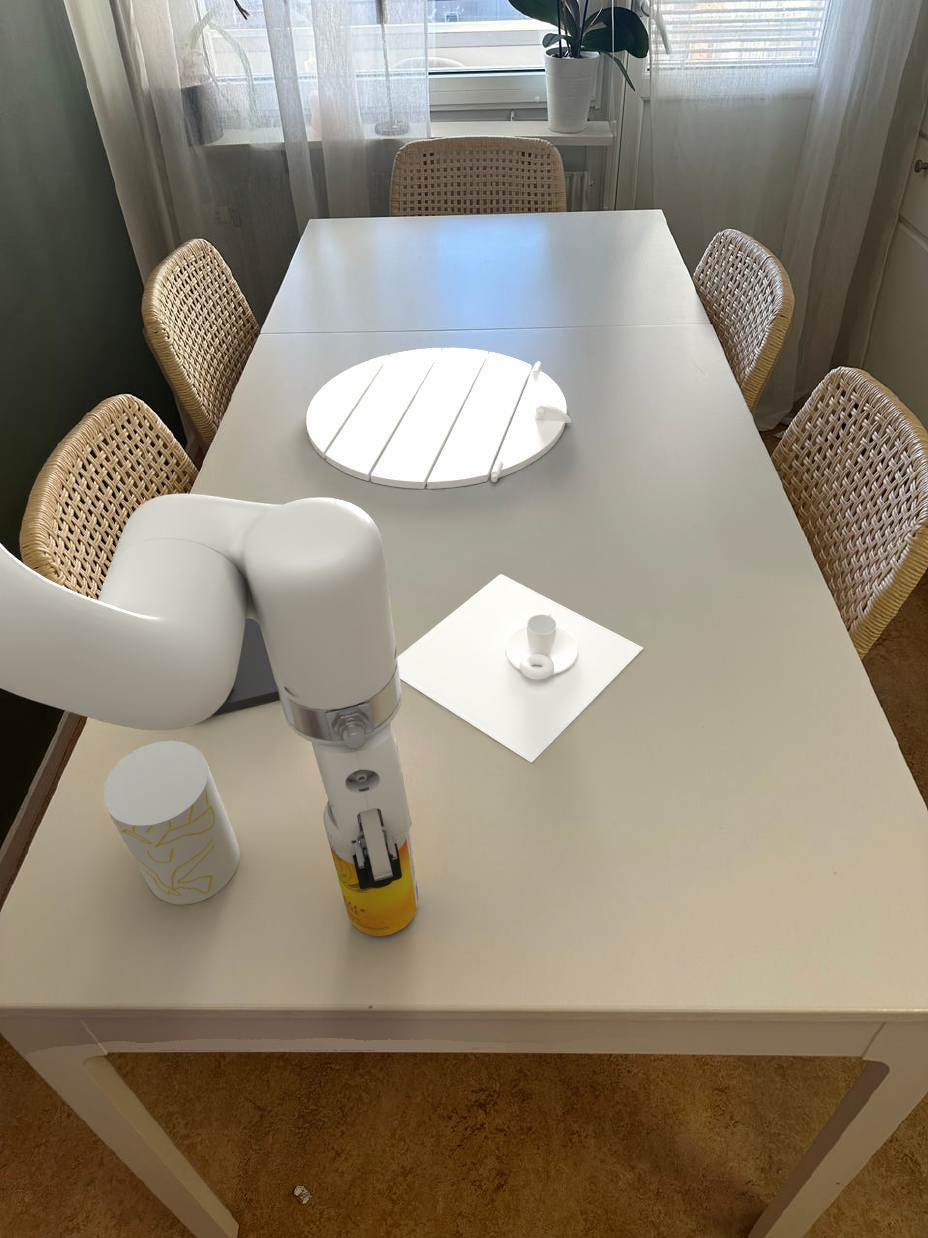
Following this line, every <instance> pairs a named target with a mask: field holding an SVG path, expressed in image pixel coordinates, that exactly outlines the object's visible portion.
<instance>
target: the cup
mask: <svg viewBox="0 0 928 1238" xmlns="http://www.w3.org/2000/svg"><path fill="white" fill-rule="evenodd" d="M102 801H103V805H104V807H105V809H106V811H107V812H108V815H109V816H110V818H111V820H112V821H113V824H114V825H115V828H116V829H117V831H118V833H119V835H120V836H121V838H122V840H123V842H124V844H125V846H126V848H127V849H128V851H129V853H130V855H131V856H132V859H133V860H134V863H136V865H137V867H138V869H139V871H140V873H141V875H142V876H143V879H144V880H145V882H146V883H147V885H148V887H149V889H150V891H151V892H152V893H153V895H155V896H156V897H157V898H158V899H159V900H161V901H163V902H165V903H168V904H172V905H180V906H181V905H183V906H184V905H185V906H186V905H193V904H197V903H200V902H203V901H206V900H208V899H209V898H211V897H213V896H215V895H216V894H218V893H219V892H220V891H221V890H223V889H224V888H225V887H226V886H227V885H228V883H230V882H231V880H232V878H233V877H234V875H235V874H236V871H237V869H238V866H239V863H240V858H241V857H240V856H241V851H240V845H239V842H238V840H237V837H236V834H235V832H234V829H233V827H232V824H231V822H230V818H229V816H228V813H227V811H226V809H225V805H224V803H223V800H222V798H221V796H220V793H219V791H218V788H217V785H216V783H215V780H214V777H213V775H212V773H211V770H210V768H209V765H208V761H207V759H206V757H205V756H204V754H203V753H202V751H200V750H199V749H198V748H197V747H195V746H194V745H191V744H189V743H187V742H183V741H178V740H161V741H156V742H151V743H149V744H146V745H142V746H141V747H138V748H137V749H135V750H133V751H131V752H129V753H128V754H126V756H124V757H122V758H121V759H120V760H119V761H118V762H117V763H116V765H114V767H113V768H112V769H111V770H110V772H109V774H108V775H107V777H106V780H105V782H104V785H103V789H102Z"/></svg>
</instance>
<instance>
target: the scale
mask: <svg viewBox="0 0 928 1238" xmlns="http://www.w3.org/2000/svg"><path fill="white" fill-rule="evenodd" d="M278 701H280V697H279V694H278V690H277V686H276V682H275V679H274V675H273V672H272V668H271V664H270V661H269V657H268V653H267V649H266V646H265V642H264V638H263V635H262V631H261V627H260V625H259V623H257V622H256V621H255V620H253V619H250V618H248V619H246V623H245V629H244V636H243V642H242V648H241V653H240V659H239V664H238V669H237V674H236V679H235V682H234V685H233V687H232V689H231V691H230V693H229V695H228V697H227V699H226V700H225V702H224V703H223V704H222V706H221V707H220V708H219V709H218V710H217V711H216V712H215V713H214V714H212V715H211V716H210V717H209V718H211V717H215V716H219V715H224V714H227V713H233V712H237V711H240V710H243V709H248V708H253V707H257V706H261V705H266V704H270V703H273V702H278Z"/></svg>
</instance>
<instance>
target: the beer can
mask: <svg viewBox="0 0 928 1238" xmlns="http://www.w3.org/2000/svg"><path fill="white" fill-rule="evenodd" d="M322 817H323V825H324V829H325V833H326V838H327V841H328V844H329V848H330V852H331V856H332V860H333V864H334V867H335V871H336V876H337V879H338V884H339V886H340V887H339V888H340V891H341V894H342V899H343V903H344V906H345V909H346V914H347V916H348V919H349V920H350V922H351V924H352V925H353V926H354V927H355V928H356V929H357V930H359V931H360V932H362V933H364V934H366V935H370V936H374V937H382V936H383V937H384V936H390V935H393V934H396V933H397V932H399V931H401V930H402V929H404V928H406V927H407V926H408V925H409V923H411V922H412V921H413V919H414V917H415V915H416V913H417V911H418V907H419V901H420V898H419V890H418V882H417V875H416V867H415V860H414V853H413V847H412V839H411V838H412V837H411V831H410V830H409V831H408V832H406V833H403V834H400V835H398V836H397V835H395V834H393V833H392V835H393V839H394V844H395V843H397V847H398V852H399V858H400V864H401V871H402V878H400V879H398V880H395V881H392V883H391V884H389V885H387V886H385V887H381V888H372V887H371V888H367V889H360V887H359V882H358V878H357V874H356V869H355V865H354V860H353V856H352V855H355V848H354V844H353V847H350V846H348V845H346V844H345V843H344V842H343V840H342V837H341V835H340V832H339V829H338V826H337V823H336V820H335V818H334V815H333V812H332V809H331V806H330V803H329V800H328V799H327V802H326V804H325V806H324V810H323V816H322ZM379 817H380V816H379ZM360 822H361V821H359V823H360ZM383 835H384V833H383ZM384 840H385V837H384ZM360 841H361V845H362V849H363V848H364V847H367V846H366V842H365V838H362V839H360ZM385 844H386V841H385Z"/></svg>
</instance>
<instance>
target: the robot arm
mask: <svg viewBox="0 0 928 1238" xmlns="http://www.w3.org/2000/svg"><path fill="white" fill-rule="evenodd" d="M388 579H389V578H388V571H387V565H386V556H385V549H384V543H383V538H382V535H381V533H380V530H379V528H378V526H377V524H376V523H375V522H374V520H373V518H372V517H371V516H370V515H369V514H368V513H367V512H365V510H364V509H362V508H360V507H359V506H357V505H356V504H353V503H351V502H349V501H345V500H343V499H338V498H332V497H307V498H301V499H297V500H292V501H289V502H285V503H283V504H275V503H274V504H273V503H263V502H262V503H261V502H255V501H248V500H241V499H234V498H228V497H222V496H216V495H215V496H214V495H207V494H198V493H170V494H164V495H160V496H155V497H153V498H150V499H149V500H147V501H144V502H143V503H142V504H141V505H139V506H138V507H136V508H135V510H134V511H133V512H132V514H130V516H129V517H128V519H127V521H126V523H125V525H124V527H123V529H122V532H121V535H120V537H119V540H118V543H117V546H116V549H115V552H114V555H113V558H112V561H111V563H110V566H109V568H108V570H107V573H106V576H105V578H104V582H103V585H102V587H101V589H100V593H99V596H98V599H95V598H91V597H88V596H86V595H84V594H81V593H78V592H77V591H75V590H72V589H69V588H67V587H65V586H63V585H61V584H59V583H56V582H54V581H52V580H50V579H49V578H47V577H45V576H43V575H41V574H40V573H38V572H36V571H35V570H33V569H32V568H30V567H28V566H27V565H26V564H25V563H23V562H22V561H21V560H19V559H18V558H16V556H15V555H13V554H12V553H10V552H9V551H8V550H7V549H6V548H5V546H4V545H3V544H1V543H0V689H2V690H4V691H6V692H8V693H11V694H14V695H16V696H19V697H20V698H21V697H22V698H25V699H27V700H31V701H34V702H37V703H40V704H43V705H47V706H49V707H53V708H56V709H59V710H63V711H66V712H68V713H72V714H75V715H78V716H82V717H86V718H90V719H93V720H96V721H99V722H102V723H106V724H110V725H116V726H120V727H124V728H130V729H138V730H144V731H174V730H180V729H185V728H188V727H191V726H194V725H197V724H199V723H202V722H203V721H205V720H206V719H208V718H211V717H212V716H211V715H212V714H214V713H215V712H216V711H217V710H218V709H219V708H220V707H221V706H222V704H223V703H224V702H225V700H226V699H227V697H228V695H229V693H230V691H231V689H232V687H233V685H234V682H235V679H236V674H237V669H238V664H239V659H240V653H241V648H242V642H243V636H244V629H245V623H246V619H248V618H250V619H253V620H255V621H256V622H257V623H259V625H260V627H261V631H262V635H263V638H264V642H265V646H266V649H267V653H268V657H269V661H270V664H271V668H272V672H273V675H274V679H275V682H276V686H277V690H278V694H279V697H280V700H279V701H280V705H281V708H282V711H283V715H284V718H285V721H286V722H287V724H288V727H290V729H291V730H292V731H293V732H294V733H295V734H296V735H297V736H299V737H301V738H302V739H304V740H306V741H308V742H311V745H312V749H313V752H314V756H315V760H316V764H317V768H318V771H319V774H320V778H321V780H322V785H323V787H324V790H325V793H326V796H327V801H328V800H329V803H330V806H331V809H332V812H333V815H334V818H335V820H336V823H337V826H338V829H339V832H340V835H341V837H342V840H343V842H344V843H345V844H346V845H348V846H350V847H353V844H354V848H355V855H352V856H353V860H354V865H355V869H356V874H357V878H358V882H359V887H360V889H367V888H371V887H372V888H381V887H385V886H387V885H389V884H391V883H392V881H395V880H398V879H400V878H402V871H401V864H400V858H399V852H398V847H397V843H395V844H394V839H393V835H392V833H393V834H395V835H397V836H398V835H400V834H403V833H406V832H408V831H410V829H411V827H412V818H411V812H410V808H409V802H408V797H407V792H406V786H405V779H404V773H403V768H402V763H401V756H400V751H399V747H398V746H399V745H398V742H397V737H396V733H395V728H394V723H393V720H394V719H395V718H396V716H397V714H398V712H399V711H400V708H401V705H402V700H403V693H402V684H401V679H400V676H399V668H398V660H397V657H398V653H397V643H396V637H395V630H394V620H393V612H392V603H391V597H390V589H389V581H388ZM210 716H211V717H210ZM379 816H380V817H379ZM359 821H361V822H360V823H359ZM383 833H384V835H383ZM384 837H385V840H384ZM362 838H365V842H366V846H367V847H364V848H363V849H362V845H361V841H360V839H362ZM385 841H386V844H385Z"/></svg>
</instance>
